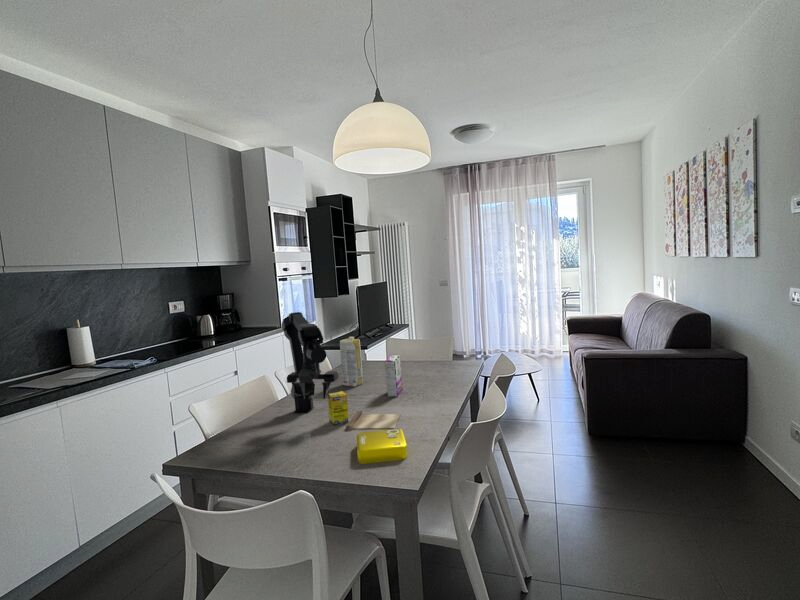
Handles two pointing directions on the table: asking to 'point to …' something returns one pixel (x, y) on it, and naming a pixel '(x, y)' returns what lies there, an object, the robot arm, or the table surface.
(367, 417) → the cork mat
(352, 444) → the table surface
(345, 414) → the supplement box
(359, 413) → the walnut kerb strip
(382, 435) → the yellow flat block
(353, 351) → the juice carton
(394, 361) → the candy bar box
